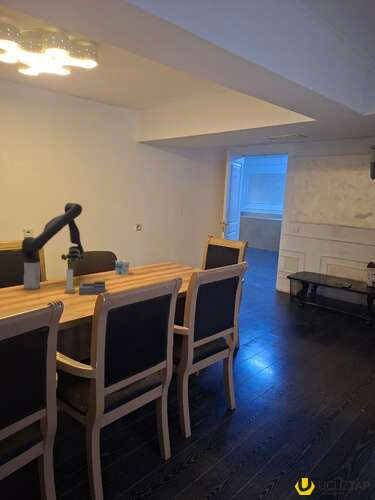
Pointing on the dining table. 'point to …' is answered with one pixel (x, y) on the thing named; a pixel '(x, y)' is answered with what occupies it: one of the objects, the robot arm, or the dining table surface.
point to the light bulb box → (122, 267)
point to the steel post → (69, 282)
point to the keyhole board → (92, 288)
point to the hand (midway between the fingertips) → (71, 258)
